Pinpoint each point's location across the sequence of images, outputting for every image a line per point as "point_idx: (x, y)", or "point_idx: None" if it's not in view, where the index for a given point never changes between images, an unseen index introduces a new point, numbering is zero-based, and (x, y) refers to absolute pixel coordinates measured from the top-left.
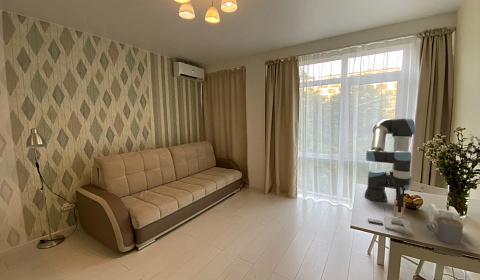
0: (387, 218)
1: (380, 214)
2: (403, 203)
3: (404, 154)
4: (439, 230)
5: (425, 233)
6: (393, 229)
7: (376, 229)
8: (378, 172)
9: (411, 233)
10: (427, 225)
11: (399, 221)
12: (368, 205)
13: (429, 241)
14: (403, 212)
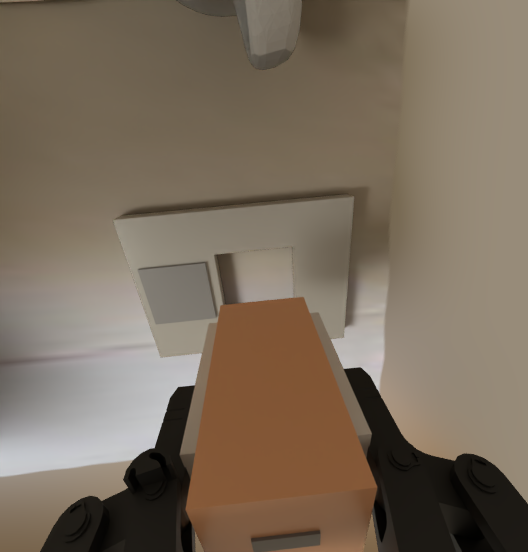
0: (199, 340)
1: (136, 368)
2: (332, 500)
3: None
4: None
5: (245, 96)
6: (344, 299)
7: (374, 359)
8: None
9: (353, 204)
10: (283, 59)
11: (195, 279)
12: (45, 429)
13: (384, 79)
14: (319, 344)
